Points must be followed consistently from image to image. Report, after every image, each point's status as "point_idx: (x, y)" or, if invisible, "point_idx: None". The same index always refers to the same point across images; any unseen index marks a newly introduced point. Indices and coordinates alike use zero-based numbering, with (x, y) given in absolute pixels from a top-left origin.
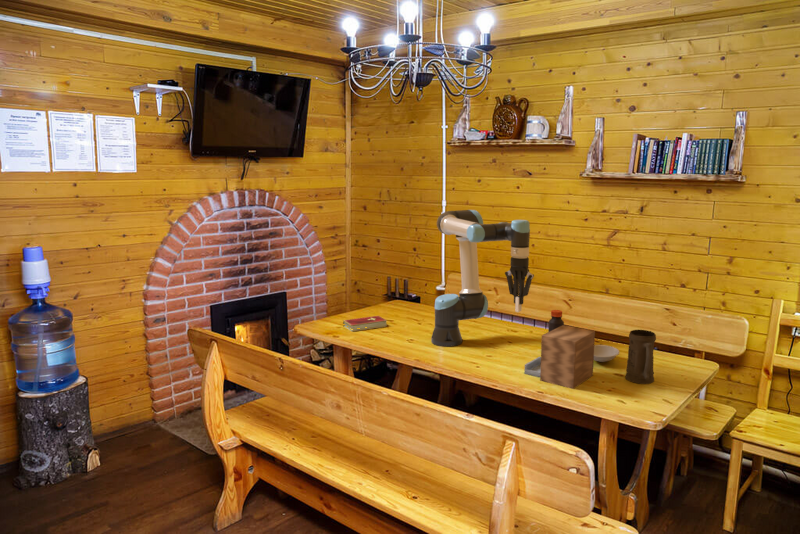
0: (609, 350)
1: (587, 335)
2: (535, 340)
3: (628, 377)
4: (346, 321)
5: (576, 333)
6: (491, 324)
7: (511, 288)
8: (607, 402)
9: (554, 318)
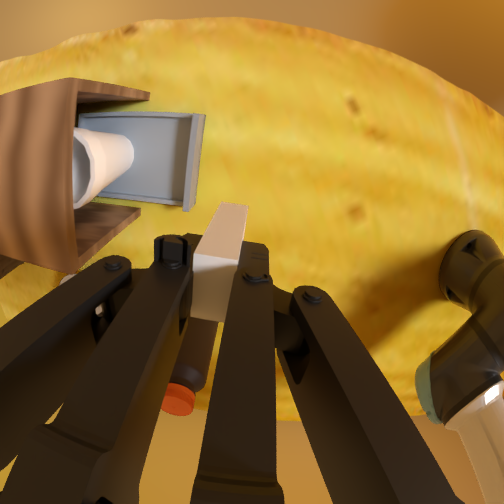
0: None
1: None
2: (277, 369)
3: None
4: None
5: (5, 193)
6: None
7: (315, 345)
8: (23, 85)
9: (177, 379)
